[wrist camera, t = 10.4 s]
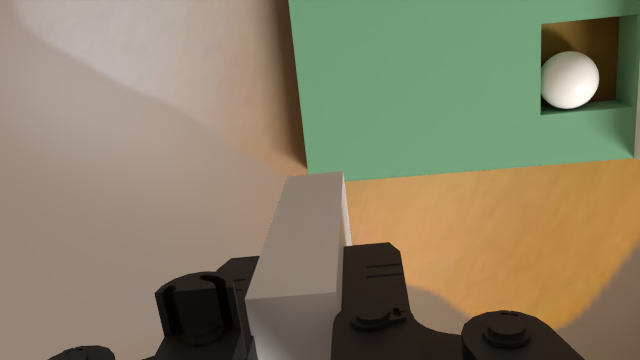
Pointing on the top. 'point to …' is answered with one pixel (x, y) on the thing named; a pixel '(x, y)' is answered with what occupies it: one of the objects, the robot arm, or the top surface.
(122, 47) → the top surface
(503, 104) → the putting board
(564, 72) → the golf ball
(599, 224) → the top surface
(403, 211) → the top surface
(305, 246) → the robot arm
